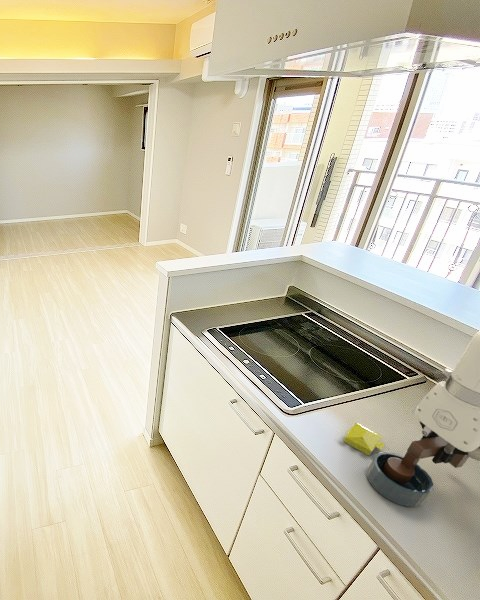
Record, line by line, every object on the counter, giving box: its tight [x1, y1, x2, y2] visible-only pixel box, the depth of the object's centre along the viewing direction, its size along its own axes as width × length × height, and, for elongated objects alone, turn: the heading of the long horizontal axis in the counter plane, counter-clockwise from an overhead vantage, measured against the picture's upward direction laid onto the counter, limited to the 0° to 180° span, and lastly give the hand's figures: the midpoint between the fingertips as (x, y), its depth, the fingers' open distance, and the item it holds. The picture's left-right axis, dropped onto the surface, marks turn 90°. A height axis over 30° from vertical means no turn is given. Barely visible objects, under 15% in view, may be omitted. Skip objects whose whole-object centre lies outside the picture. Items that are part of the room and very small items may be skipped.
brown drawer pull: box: [383, 436, 470, 483], centre depth 70 cm, size 17×4×9 cm, turn 98°
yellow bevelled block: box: [343, 421, 390, 456], centre depth 82 cm, size 10×9×3 cm
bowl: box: [365, 451, 435, 508], centre depth 71 cm, size 10×10×5 cm
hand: (432, 454), depth 70 cm, fingers closed on brown drawer pull, 2 cm apart
